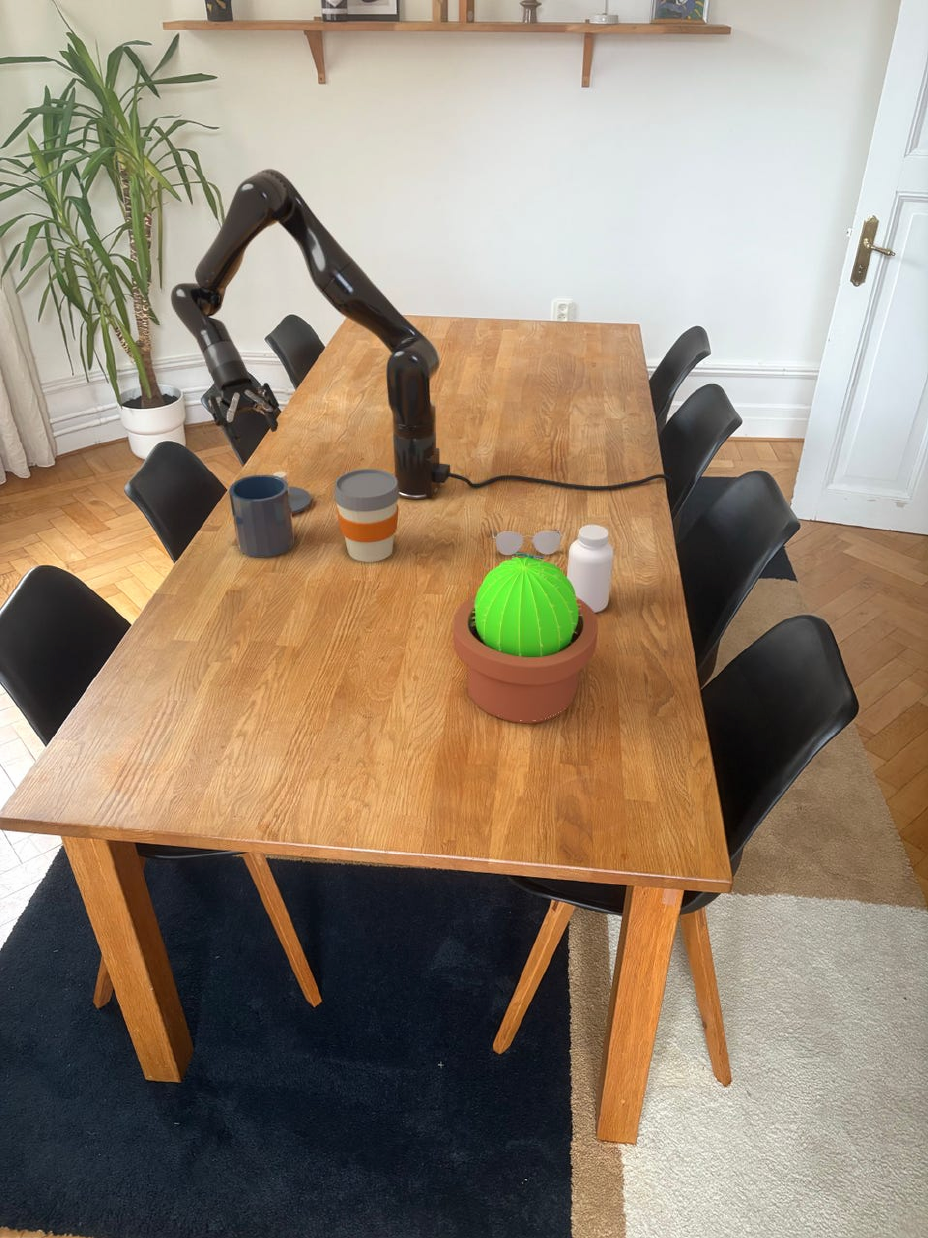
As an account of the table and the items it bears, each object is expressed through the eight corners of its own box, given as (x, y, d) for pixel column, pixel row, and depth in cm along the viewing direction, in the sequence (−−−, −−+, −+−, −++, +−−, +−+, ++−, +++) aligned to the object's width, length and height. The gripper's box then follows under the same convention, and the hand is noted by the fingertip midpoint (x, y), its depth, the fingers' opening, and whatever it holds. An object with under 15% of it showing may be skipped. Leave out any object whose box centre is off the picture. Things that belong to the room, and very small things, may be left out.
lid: (320, 495, 208) (318, 466, 204) (296, 521, 199) (293, 491, 195) (270, 487, 211) (267, 458, 207) (244, 513, 202) (239, 482, 198)
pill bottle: (612, 595, 177) (620, 524, 168) (603, 618, 171) (611, 546, 162) (570, 587, 179) (576, 517, 170) (560, 610, 173) (565, 538, 164)
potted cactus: (550, 753, 142) (561, 617, 127) (428, 702, 151) (425, 570, 137) (612, 676, 157) (628, 546, 143) (497, 634, 166) (502, 508, 152)
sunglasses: (492, 555, 188) (493, 531, 186) (490, 540, 196) (490, 517, 193) (562, 554, 189) (563, 530, 186) (557, 539, 196) (558, 516, 194)
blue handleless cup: (303, 534, 195) (297, 479, 187) (278, 561, 186) (271, 504, 179) (254, 525, 197) (246, 471, 190) (228, 552, 189) (218, 496, 181)
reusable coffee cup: (412, 542, 192) (410, 475, 183) (382, 572, 183) (378, 503, 174) (358, 529, 196) (354, 463, 188) (326, 558, 187) (320, 490, 178)
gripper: (198, 366, 198) (230, 436, 197) (260, 352, 205) (291, 419, 204) (192, 383, 204) (222, 450, 203) (252, 369, 211) (282, 434, 210)
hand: (257, 435), depth 204 cm, fingers open, 8 cm apart
